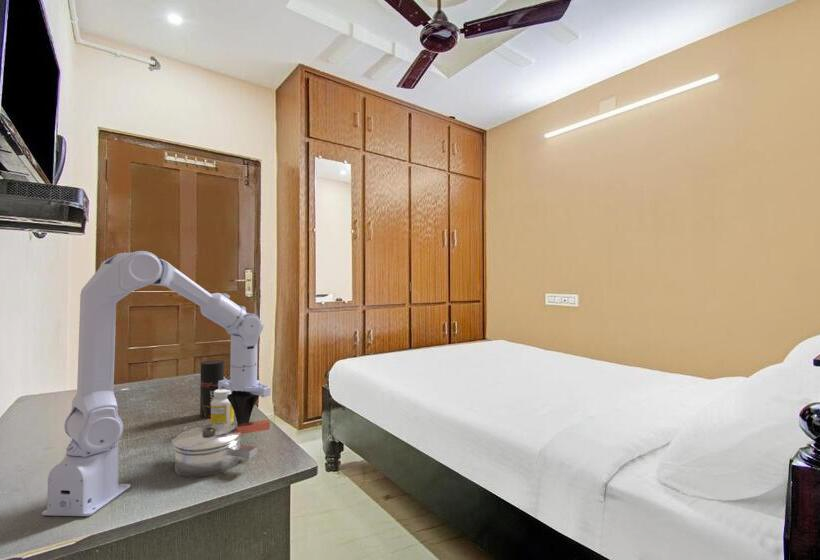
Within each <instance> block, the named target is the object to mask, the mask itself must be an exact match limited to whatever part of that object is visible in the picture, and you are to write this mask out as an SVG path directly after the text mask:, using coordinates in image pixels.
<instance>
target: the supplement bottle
mask: <svg viewBox="0 0 820 560" xmlns="http://www.w3.org/2000/svg"><path fill="white" fill-rule="evenodd" d="M229 394H232V390H226V389H222V390H220V389H218V390H215V391H214V397H215V399H213V400H212V401H211V418H210V425H215V424H228V425H234V426H235V418H234V417H235V413H234V410H233V407H232V405H231V403H230V402H229V400H228V399H227V395H229Z"/></svg>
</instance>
